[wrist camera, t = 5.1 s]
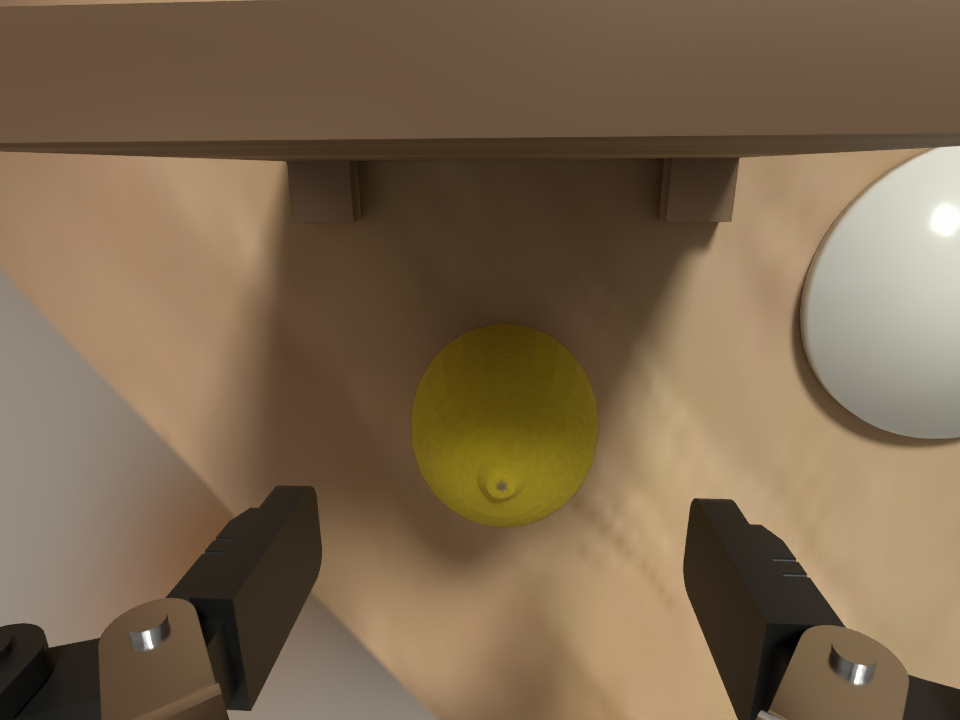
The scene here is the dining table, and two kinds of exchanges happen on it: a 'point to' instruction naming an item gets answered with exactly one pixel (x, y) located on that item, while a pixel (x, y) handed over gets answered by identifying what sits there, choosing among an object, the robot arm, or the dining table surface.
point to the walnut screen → (482, 85)
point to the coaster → (892, 300)
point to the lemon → (504, 425)
